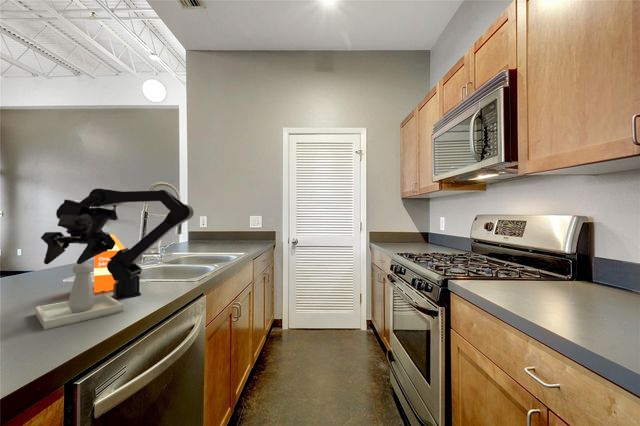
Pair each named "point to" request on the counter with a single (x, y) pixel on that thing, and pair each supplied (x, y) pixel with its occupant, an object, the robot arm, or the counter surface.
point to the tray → (63, 315)
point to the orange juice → (105, 268)
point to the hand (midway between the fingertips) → (61, 263)
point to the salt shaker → (82, 289)
